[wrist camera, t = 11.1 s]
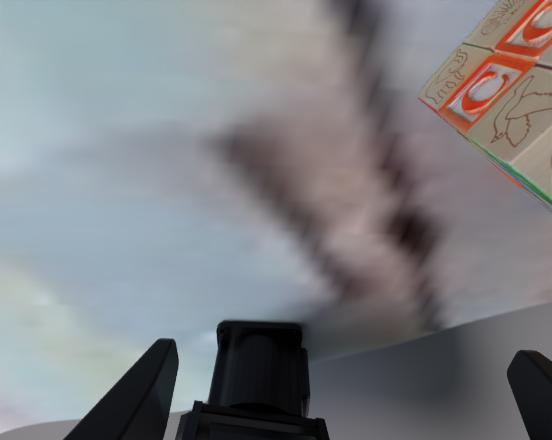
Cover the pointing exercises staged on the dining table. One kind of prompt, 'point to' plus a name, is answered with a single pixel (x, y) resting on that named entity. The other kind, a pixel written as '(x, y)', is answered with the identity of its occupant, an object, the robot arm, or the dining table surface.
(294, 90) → the dining table surface
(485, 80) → the stack of blocks
